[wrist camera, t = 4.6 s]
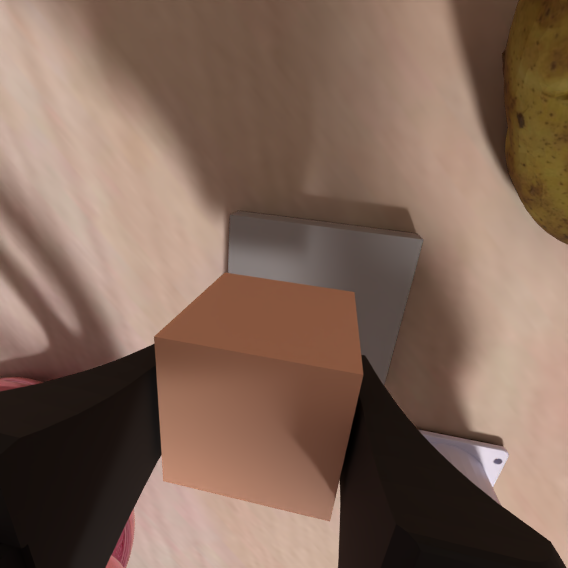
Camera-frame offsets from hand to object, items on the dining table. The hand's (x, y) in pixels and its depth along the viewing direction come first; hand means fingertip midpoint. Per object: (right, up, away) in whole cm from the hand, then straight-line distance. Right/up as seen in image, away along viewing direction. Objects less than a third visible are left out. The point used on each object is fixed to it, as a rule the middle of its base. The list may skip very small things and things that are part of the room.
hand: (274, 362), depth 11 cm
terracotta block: (0, +1, +1) cm, 2 cm away
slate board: (+2, +2, +8) cm, 8 cm away
